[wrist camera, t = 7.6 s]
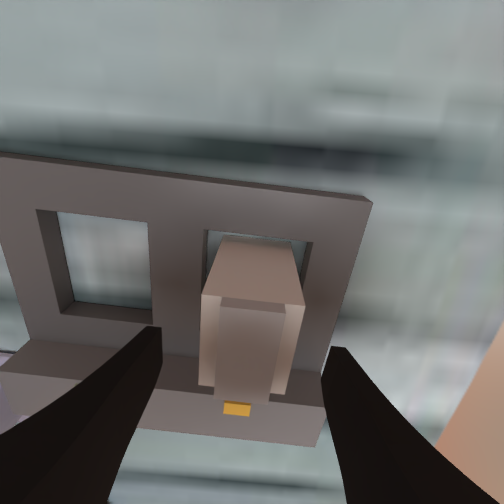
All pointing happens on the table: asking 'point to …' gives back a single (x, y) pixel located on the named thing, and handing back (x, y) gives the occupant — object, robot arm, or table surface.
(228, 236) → the plug
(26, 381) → the socket panel
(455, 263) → the table surface
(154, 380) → the robot arm
